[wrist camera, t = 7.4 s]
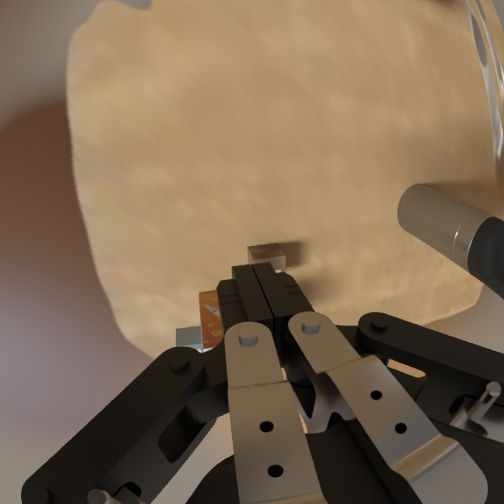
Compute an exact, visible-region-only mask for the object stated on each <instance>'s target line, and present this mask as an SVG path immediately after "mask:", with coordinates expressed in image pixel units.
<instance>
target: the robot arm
mask: <svg viewBox="0 0 504 504" xmlns="http://www.w3.org/2000/svg"><path fill="white" fill-rule="evenodd" d="M398 219H399V223H400V225H401V227H402V228H403V229H404V230H406V231H407V232H409V233H410V234H412V235H414V236H415V237H417V238H418V239H420V240H421V241H423V242H424V243H426V244H427V245H429V246H431V247H432V248H434V249H435V250H437V251H438V252H440V253H441V254H443V255H444V256H446V257H447V258H448V259H450V260H451V261H453V262H454V263H456V264H457V265H459V266H460V267H462V268H463V269H464V270H466V271H467V272H469V273H470V274H471V275H473V276H474V277H476V278H477V279H478V280H480V281H481V282H483V283H484V284H485V285H487V286H488V287H489V288H491V289H492V290H493V291H494V292H495V293H497V294H498V295H499V296H500V297H501V298H502V299H503V300H504V221H503V220H501V219H499V218H497V217H495V216H493V215H491V214H489V213H486V212H484V211H482V210H480V209H478V208H476V207H474V206H471V205H469V204H467V203H465V202H463V201H460V200H458V199H456V198H454V197H451V196H449V195H447V194H444V193H442V192H439V191H437V190H435V189H432V188H430V187H427V186H424V185H422V184H417V185H414V186H412V187H410V188H409V189H408V190H407V191H406V192H405V193H404V195H403V197H402V198H401V201H400V204H399V208H398ZM216 289H217V297H218V305H219V312H220V320H221V325H222V331H223V336H224V337H223V339H222V341H221V342H220V343H219V344H218V345H217V346H216V347H214V348H212V349H210V350H208V351H205V352H203V353H200V352H199V351H198V350H196V349H194V348H191V347H186V346H179V347H174V348H170V349H168V350H166V351H165V352H163V353H162V354H161V355H160V356H158V357H157V358H156V359H155V360H154V361H153V362H152V363H151V364H150V365H149V366H148V367H147V368H146V369H145V370H144V371H143V372H142V373H141V374H140V375H139V376H138V377H136V379H134V380H133V381H132V382H131V383H130V384H129V385H128V386H127V387H126V388H125V389H124V390H123V391H122V392H121V393H120V394H119V395H117V396H116V397H115V398H114V399H113V400H112V401H111V402H110V403H109V404H108V405H107V406H106V407H105V408H104V409H103V410H102V411H101V412H99V413H98V414H97V415H96V416H95V417H94V418H93V419H92V420H91V421H90V422H89V423H88V424H87V425H86V426H85V427H83V428H82V429H81V430H80V431H79V432H78V433H77V434H76V435H75V436H74V437H73V438H72V439H71V440H70V441H68V442H67V443H66V444H65V445H64V446H63V447H62V448H61V449H60V450H59V451H58V452H57V453H56V454H54V456H52V457H51V458H50V459H49V460H48V461H47V462H46V463H45V464H44V465H42V466H41V467H40V468H39V469H38V470H37V471H36V472H35V473H34V474H33V475H32V476H31V477H29V478H28V479H27V480H26V481H25V483H24V485H23V487H22V491H21V499H22V504H151V502H152V501H153V500H154V499H155V498H156V497H157V495H158V494H159V493H160V492H161V491H162V489H163V488H164V487H165V486H166V485H167V484H168V482H169V481H170V480H171V479H172V478H173V476H174V475H175V474H176V473H177V472H178V470H179V469H180V468H181V467H182V465H183V464H184V463H185V461H186V460H187V459H188V457H190V455H191V454H192V453H193V451H194V450H195V449H196V447H197V446H198V445H199V444H200V442H201V441H202V440H203V439H204V437H205V436H206V435H207V433H208V432H209V431H210V429H211V428H212V427H213V425H214V424H215V422H216V420H217V417H220V416H222V415H224V414H227V413H228V412H230V421H231V432H232V441H233V450H234V454H233V455H232V456H230V457H228V458H226V459H224V460H223V461H221V462H220V463H219V464H217V465H216V466H215V467H214V468H212V469H211V470H210V471H209V473H207V475H206V476H205V477H204V478H203V479H202V481H201V482H200V484H199V485H198V486H197V488H196V489H195V491H194V492H193V494H192V495H191V497H190V498H189V499H188V501H187V502H186V503H185V504H504V354H502V353H500V352H497V351H493V350H491V349H487V348H485V347H482V346H478V345H476V344H473V343H470V342H467V341H463V340H461V339H458V338H455V337H452V336H448V335H446V334H443V333H440V332H437V331H434V330H431V329H428V328H425V327H422V326H419V325H417V324H414V323H411V322H408V321H405V320H402V319H399V318H396V317H393V316H391V315H388V314H385V313H380V312H371V313H367V314H365V315H363V316H362V317H361V318H360V319H359V322H358V326H341V325H334V323H333V322H332V321H331V320H330V319H329V318H328V317H327V316H325V315H324V314H321V313H318V312H315V311H314V309H313V308H312V306H311V305H310V303H309V302H308V300H307V298H306V297H305V295H304V294H303V292H302V291H301V289H300V287H299V286H298V284H297V283H296V281H295V280H294V278H293V277H292V276H290V275H288V274H287V273H285V272H279V273H276V272H275V270H274V268H273V267H272V265H271V263H270V262H262V263H254V264H251V265H250V264H247V265H240V266H232V279H228V280H221V281H220V282H219V284H218V286H217V288H216ZM389 359H392V360H394V361H397V362H399V363H402V364H405V365H408V366H410V367H413V368H416V369H418V370H421V371H423V372H424V373H425V374H426V375H425V376H423V377H420V378H417V377H413V376H411V375H408V374H405V373H403V372H400V371H398V370H395V369H392V368H390V367H387V365H388V362H389ZM283 367H284V370H285V372H286V380H284V378H283V374H282V370H281V368H283ZM298 410H299V412H300V414H301V416H302V418H303V420H304V422H305V424H306V427H307V431H308V433H306V434H305V433H304V430H303V426H302V422H301V419H300V415H299V412H298Z"/></svg>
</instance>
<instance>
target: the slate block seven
mask: <svg viewBox="0 0 504 504" xmlns="http://www.w3.org/2000/svg"><path fill="white" fill-rule="evenodd" d="M179 346H186V347H191V348H194V349H196V350H198V351H199V352H200V353H203V348H202V337H201V326H197V327H189V328H181V329H176V347H179Z"/></svg>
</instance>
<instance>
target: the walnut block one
mask: <svg viewBox="0 0 504 504" xmlns="http://www.w3.org/2000/svg"><path fill="white" fill-rule="evenodd" d="M248 262H249V264H250V265H251V264H254V263H262V262H270V263H271V265H272V267H273V268H274V270H275V272H276V273H279V272H285V273H286V255H285V254H284V252H283V251H282V250H281V248H280V247H279V245H278V244H277V243H274V244H266V245H258V246H251V247H248Z"/></svg>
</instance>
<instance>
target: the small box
mask: <svg viewBox="0 0 504 504" xmlns="http://www.w3.org/2000/svg"><path fill="white" fill-rule="evenodd" d="M198 296H199V312H200V325H201V337H202V348H203V352H205V351H208V350H210V349H212V348H214V347H216V346H217V345H218V344H219V343H220V342H221V341H222V339H223V337H224V336H223V331H222V325H221V320H220V312H219V305H218V297H217V291H213V292H205V293H199V294H198Z"/></svg>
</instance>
